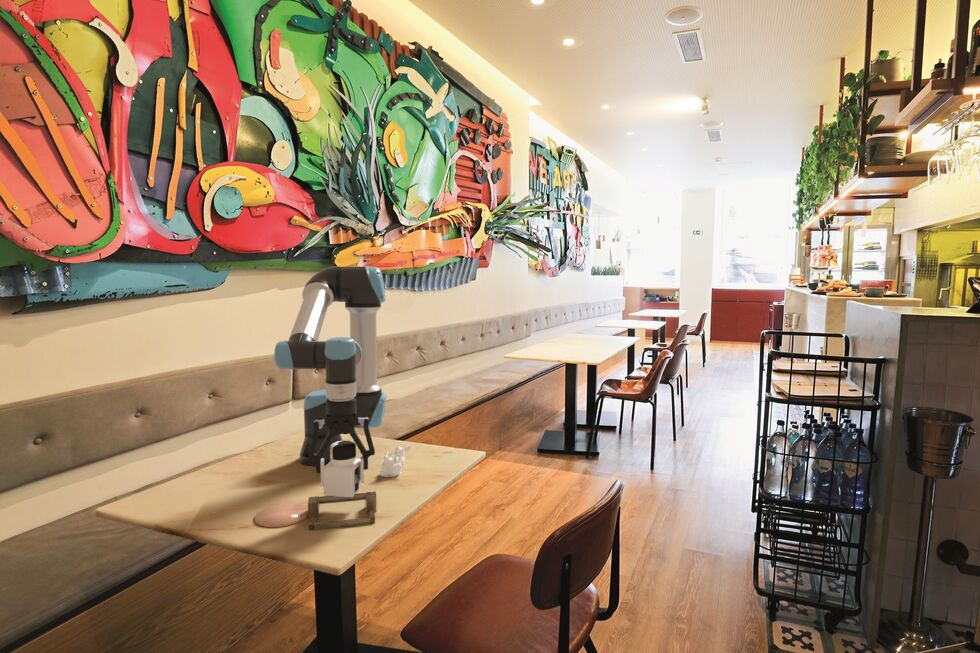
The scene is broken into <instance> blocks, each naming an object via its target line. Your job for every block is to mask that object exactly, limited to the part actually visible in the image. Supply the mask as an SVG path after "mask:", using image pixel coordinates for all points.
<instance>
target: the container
mask: <svg viewBox="0 0 980 653" xmlns="http://www.w3.org/2000/svg"><path fill="white" fill-rule="evenodd" d="M323 470H324V486H323V495H324V496H337V497H353V496H354V495H355V494H358V492H359V490H360V489H361V488H362V487H363V483H361V468H360V458H357V445H356V444H355V442H354V441H351V440H343V441H338V442H335V443H333V444H331V446H330V462H329V463H328V464H327V465H324V468H323Z"/></svg>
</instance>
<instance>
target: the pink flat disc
mask: <svg viewBox="0 0 980 653" xmlns="http://www.w3.org/2000/svg"><path fill="white" fill-rule="evenodd" d="M307 518H308V505H305V504H302V503H295V502H294V503H293V502H292V503H291V502H289V503H287V502H286V503H279V504H275V505H271V506H268V507H265V508H263V509H260V510H259V511H258V512H257V513H256V514H255V515H254V522H255V523H256V524H257V525H258V526H261V527H265V528H281V527H282V528H283V527H288V526H292V525H295V524H298V523H301V522H302V521H305V520H306V519H307Z"/></svg>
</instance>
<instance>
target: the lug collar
mask: <svg viewBox="0 0 980 653" xmlns="http://www.w3.org/2000/svg"><path fill="white" fill-rule="evenodd" d="M362 499H365V507H366V508H365V510H366V513H367V514H368V513H369V517H362V518H352V519H351V518H350V519H342V520H331V521H321V522H316V520H317V518H319V516H320V503H327V502H339V501H351V500H362ZM307 507H308V517H307V518H308V519H309V521H308V530H309V531H311V530H322V529H331V528H332V529H333V528H340V527H342V528H344V527H352V526H362V525H363V526H364V525H369V524H371V525H373V524H375V523H376V516H375V513H376V512H377V492H376V491H366V492H362V493H360V492H359V493H358V492H357V493H356V494H355V495H354V496H353V497H337V496H325V495H324V496H323V495H322V496H318V495H317V496H309V497H308V501H307Z"/></svg>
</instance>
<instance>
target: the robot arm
mask: <svg viewBox="0 0 980 653" xmlns="http://www.w3.org/2000/svg"><path fill="white" fill-rule="evenodd" d="M385 289H386V288H385V283H384V277H383V272H382V271H381V269H380V268H379V267H377V266H338V265H337V266H336V265H334V266H329V267H327V268H324V269H321V270H320V271H318V272H316V273H315V274H314V275H313V276H312V277H311V278H309V280H308V281H307V282H306V284H305V286H304V288H303V290H302V296H301V297H302V299H303V300H302V302H301V305H300V309H299V311H298V314H297V316H296V319H295V322H294V324H293V327H292V330H291V332H290V335H289V337H288V340H287V339H286V340H284V341H283V340H282V341H278V342H276V344H275V348H274V362H275V365H276V367H277V368H278V369H281V370H283V369H285V370H312V369H313V370H325V388H324V389H319V390H315V391H312V392H309V393H308V394H306V396H305V397H304V399H303V400H304V402H303V417H304V438H303V441H302V442H303V443H302V445H301V449H300V452H299V462H300V463H301V464H303V465H307V466H311V467H312V466H314V467H315V473H316V474H320V487H321V488H322V487H324V470H323V468H324V467H325V466H326V465H327V464H328V463H329V462H330V446H331V444H333V443H335V442H338V441H344V440H343V436H342V435H349V436H350V437H351V438H352V440H353V442H354V443H355V444H356V448H357V449H358V450H359V452H360V454H361V455H360V456H359V457H360V458H359V459H360V468H361V483H362V484H364V483H365V478H364V477H365V476H364V475H365V473H364V471H365V470H368V468H369V457H370V456H371V457H372V456H374V455H375V453H376V450H375V446H374V443H373V439H372V435H371V432H370V429H371V428H379V427H380V426H382V424H383V421H384V416H385V410H386V401H387V398H386V397H387V394H386V392H384V391H383V390H382V386H381V385H380V384H378V369H377V368H378V365H377V364H378V362H377V361H378V360H377V358H378V354H377V353H378V352H377V351H378V350H377V349H378V346H377V342H378V340H377V313H378V311H379V310H380V309H381V308H382V305H381V304H382V303H385V302H386V290H385ZM335 302H336V303H337V302H338V303H339V302H341V303H344V308H345V310H347V311H348V312H349V334H350V335H349V337H347V336H346V337H343V336H340V337H338V336H337V337H331V338H327V339H326V340H319V336H320V334H321V330H322V327H323V323H324V321H325V317H326V315H327V310H328V308H329V306H331V305H332V304H333V303H335ZM355 429H363V431H364V435H365V439H366V444H367V446H368V449H366V447H365V445H364V444H363V442H362V440H361V438H360V437H359V435H358V433H357V432H356V430H355Z"/></svg>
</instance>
